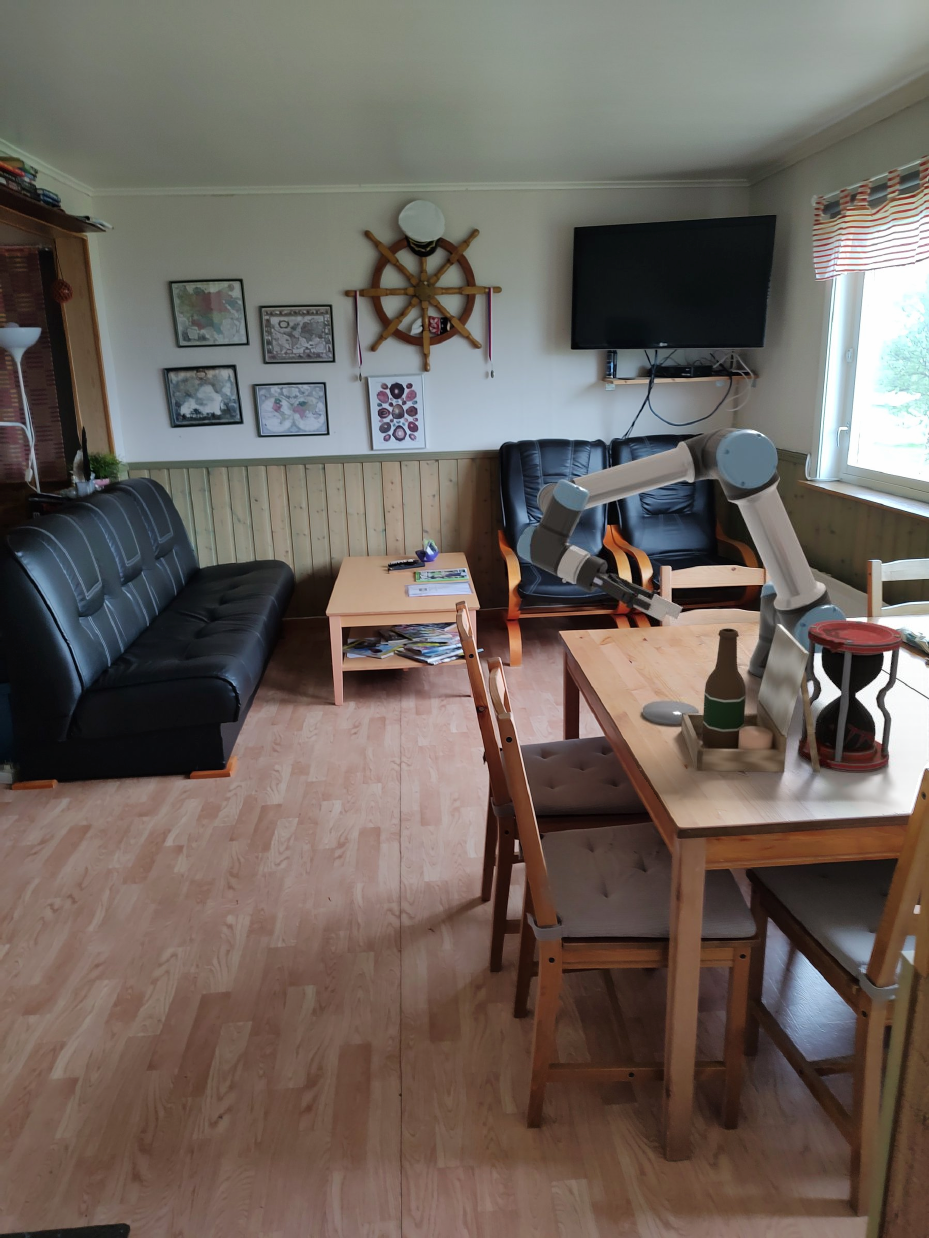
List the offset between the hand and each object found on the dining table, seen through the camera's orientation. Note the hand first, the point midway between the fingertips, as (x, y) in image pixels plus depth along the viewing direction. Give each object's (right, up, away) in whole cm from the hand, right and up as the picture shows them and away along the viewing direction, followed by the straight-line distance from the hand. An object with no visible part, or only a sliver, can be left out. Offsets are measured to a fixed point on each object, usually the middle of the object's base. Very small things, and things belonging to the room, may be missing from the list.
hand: (672, 614), depth 175 cm
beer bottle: (+9, -27, -4) cm, 28 cm away
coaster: (+2, -22, +12) cm, 25 cm away
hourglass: (+30, -28, -10) cm, 42 cm away
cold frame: (+13, -27, -7) cm, 31 cm away
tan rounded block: (+13, -28, -12) cm, 33 cm away
